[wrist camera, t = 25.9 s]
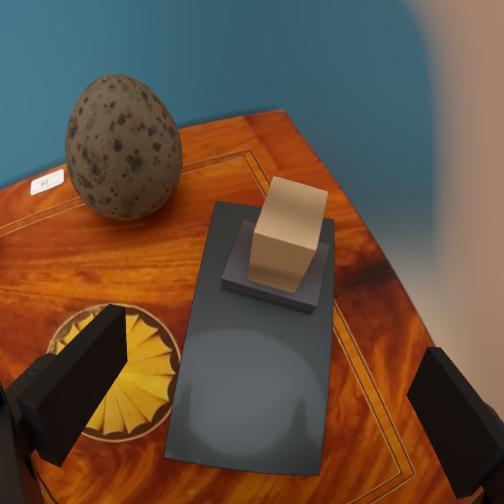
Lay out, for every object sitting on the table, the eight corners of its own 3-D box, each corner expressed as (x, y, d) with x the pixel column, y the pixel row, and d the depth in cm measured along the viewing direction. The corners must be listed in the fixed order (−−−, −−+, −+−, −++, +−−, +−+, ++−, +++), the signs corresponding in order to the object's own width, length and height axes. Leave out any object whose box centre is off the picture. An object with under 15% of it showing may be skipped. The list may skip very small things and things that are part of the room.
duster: (311, 314, 27) (346, 266, 19) (221, 288, 28) (219, 229, 20) (324, 255, 30) (355, 194, 22) (241, 231, 31) (248, 163, 23)
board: (315, 474, 21) (319, 475, 20) (165, 456, 21) (163, 457, 20) (331, 224, 33) (334, 219, 32) (216, 206, 33) (216, 200, 32)
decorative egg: (180, 156, 36) (168, 40, 23) (195, 232, 31) (182, 102, 18) (92, 176, 34) (53, 68, 21) (91, 254, 29) (25, 142, 16)
